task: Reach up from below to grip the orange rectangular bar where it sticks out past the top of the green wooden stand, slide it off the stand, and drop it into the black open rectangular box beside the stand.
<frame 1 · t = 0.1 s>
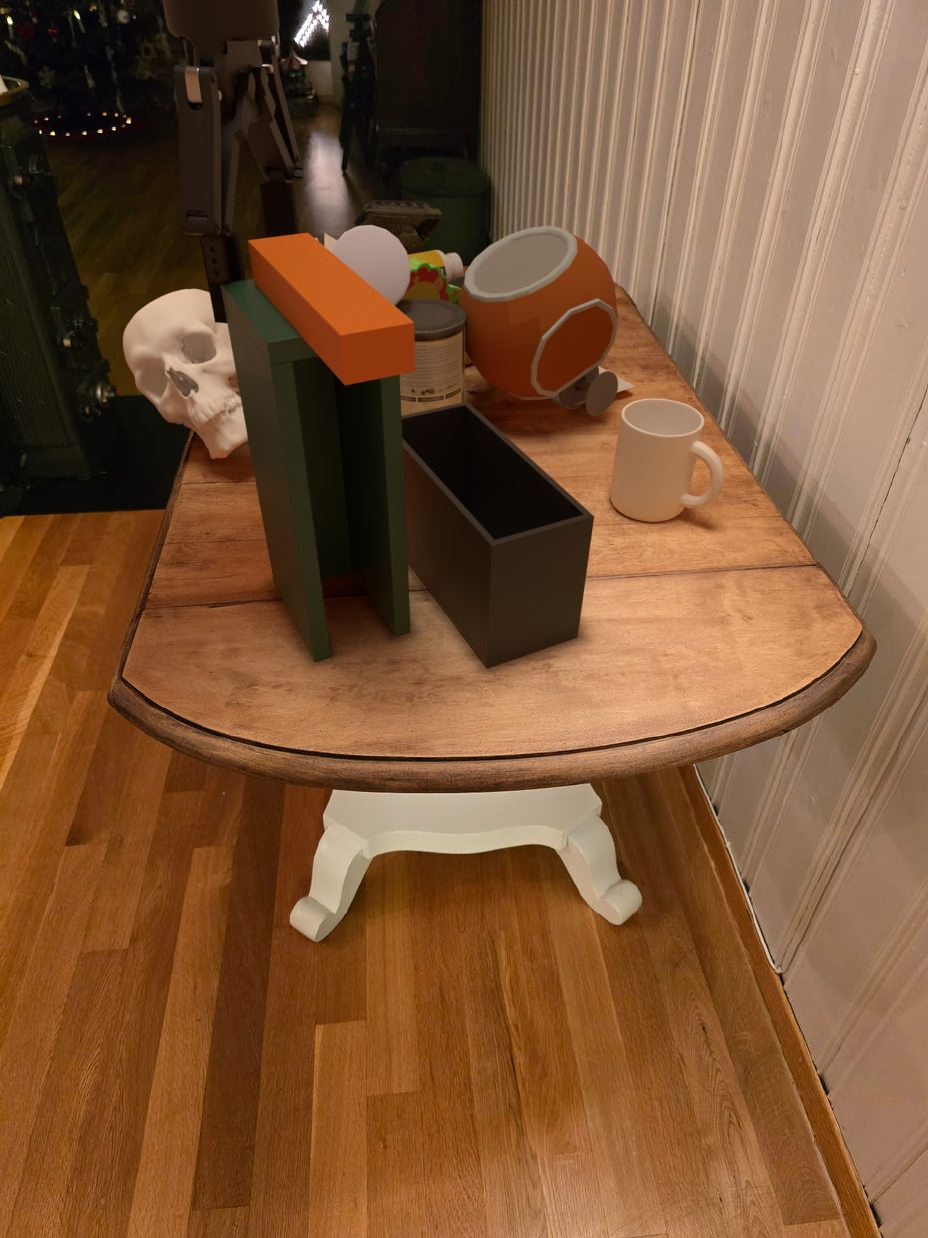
hand: (261, 291, 68), 25 cm above the table, tool pointing down, fingers open, 13 cm apart
white skull: (261, 453, 96), on the table
coffee can: (423, 428, 102), on the table, touching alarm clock, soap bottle
taco: (427, 373, 114), on the table, touching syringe, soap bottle
board: (504, 324, 128), on the table
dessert: (570, 388, 111), on the table, touching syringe
black open rectangular box: (475, 581, 79), on the table
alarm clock: (576, 351, 95), point 11 cm above the table, touching coffee can, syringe
pill bottle: (393, 279, 134), point 3 cm above the table
orange rectangular bar: (326, 322, 55), point 28 cm above the table, touching stand
toy tank: (362, 227, 134), point 10 cm above the table, touching white folded paper piece
white folded paper piece: (325, 334, 124), on the table, touching toy tank
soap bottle: (370, 269, 90), point 19 cm above the table, touching coffee can, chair, taco
mug: (661, 510, 89), on the table
stand: (340, 607, 76), on the table
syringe: (603, 394, 101), point 4 cm above the table, touching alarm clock, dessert, taco
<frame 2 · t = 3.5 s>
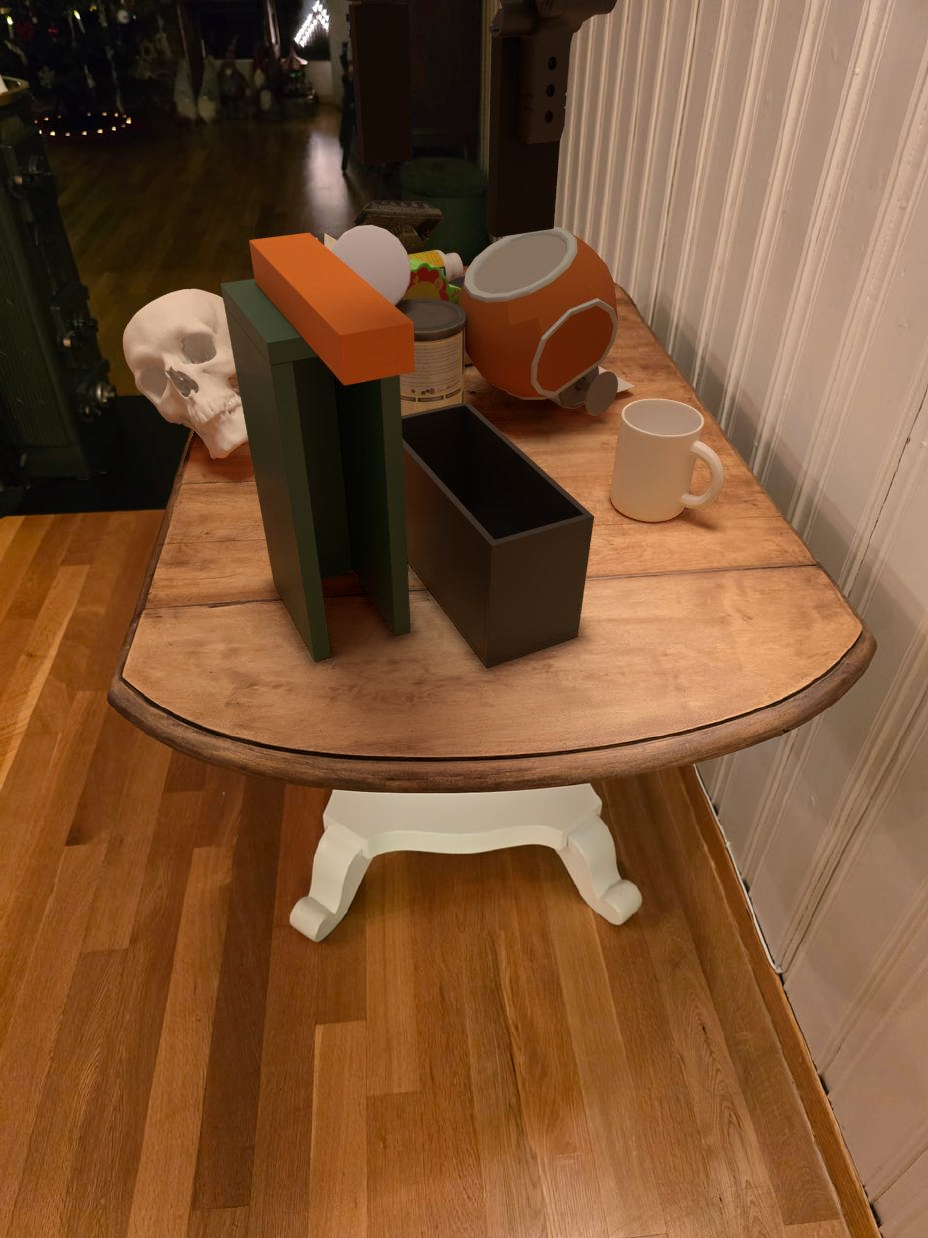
hand: (445, 192, 38), 39 cm above the table, tool pointing down, fingers open, 13 cm apart
nothing on the table moved.
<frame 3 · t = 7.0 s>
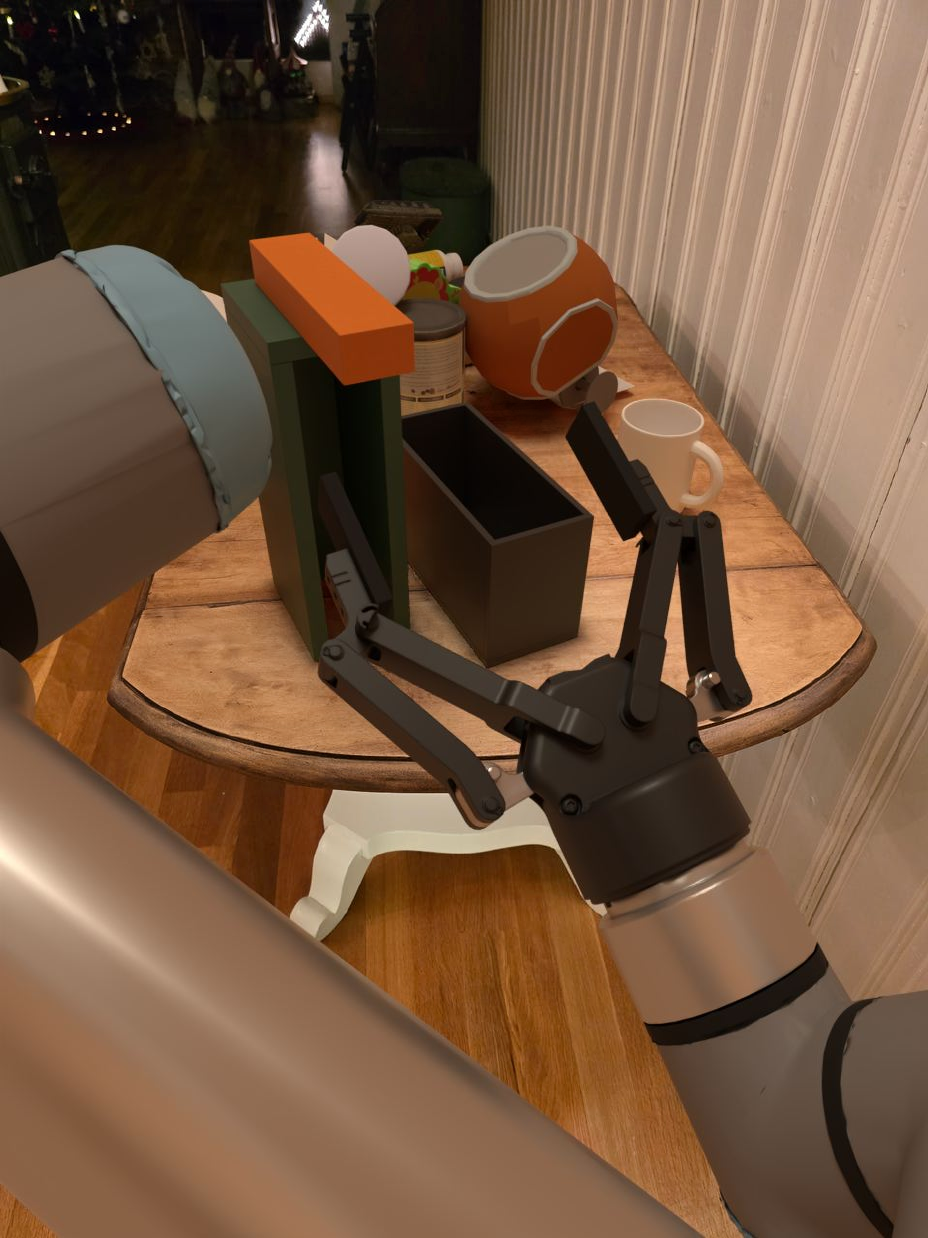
hand: (459, 451, 39), 29 cm above the table, tool pointing upward, fingers open, 13 cm apart
nothing on the table moved.
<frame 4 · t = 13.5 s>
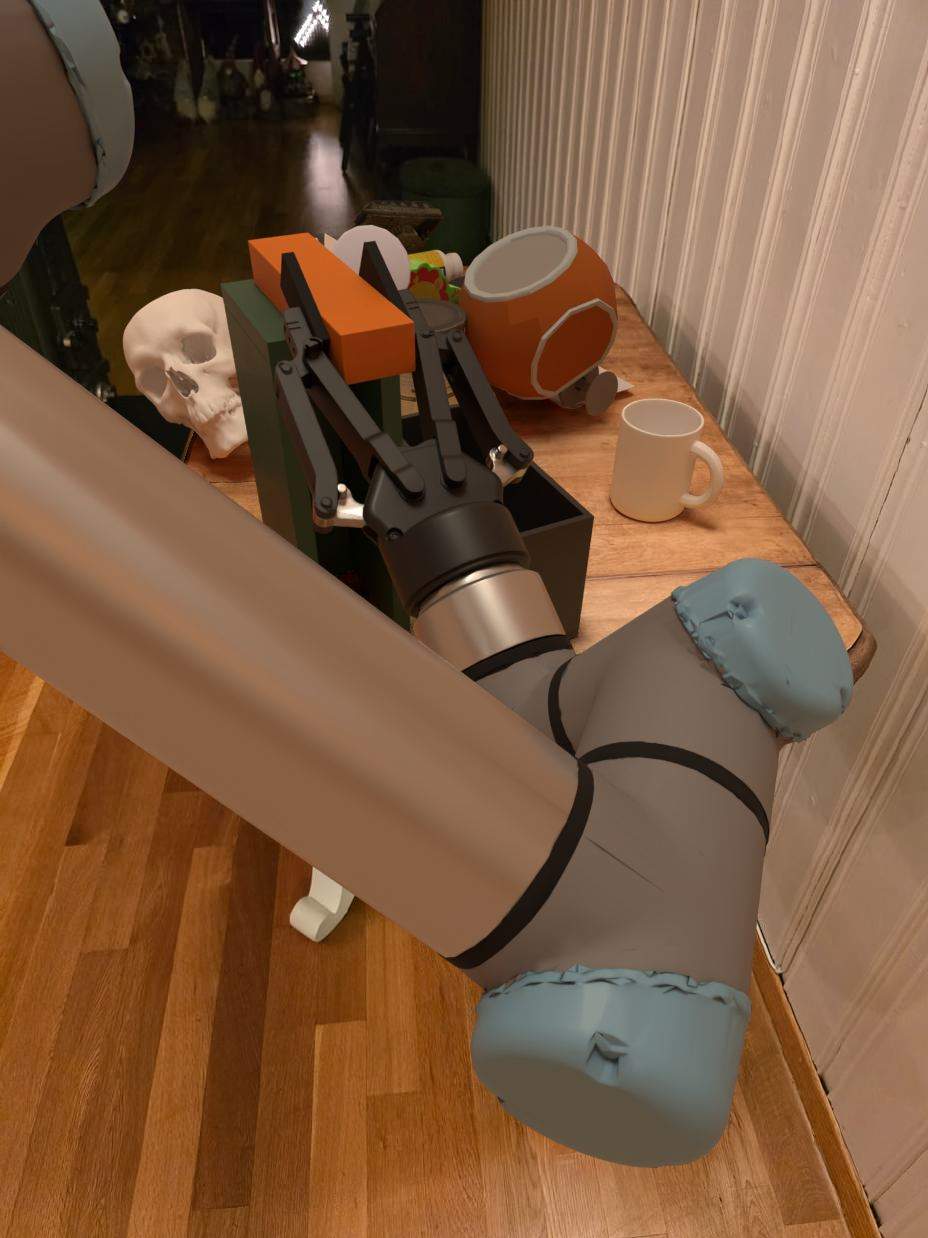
hand: (327, 264, 51), 32 cm above the table, tool pointing upward, fingers closed on orange rectangular bar, 4 cm apart
orange rectangular bar: (326, 322, 55), point 28 cm above the table, touching gripper, stand
everything else where it was.
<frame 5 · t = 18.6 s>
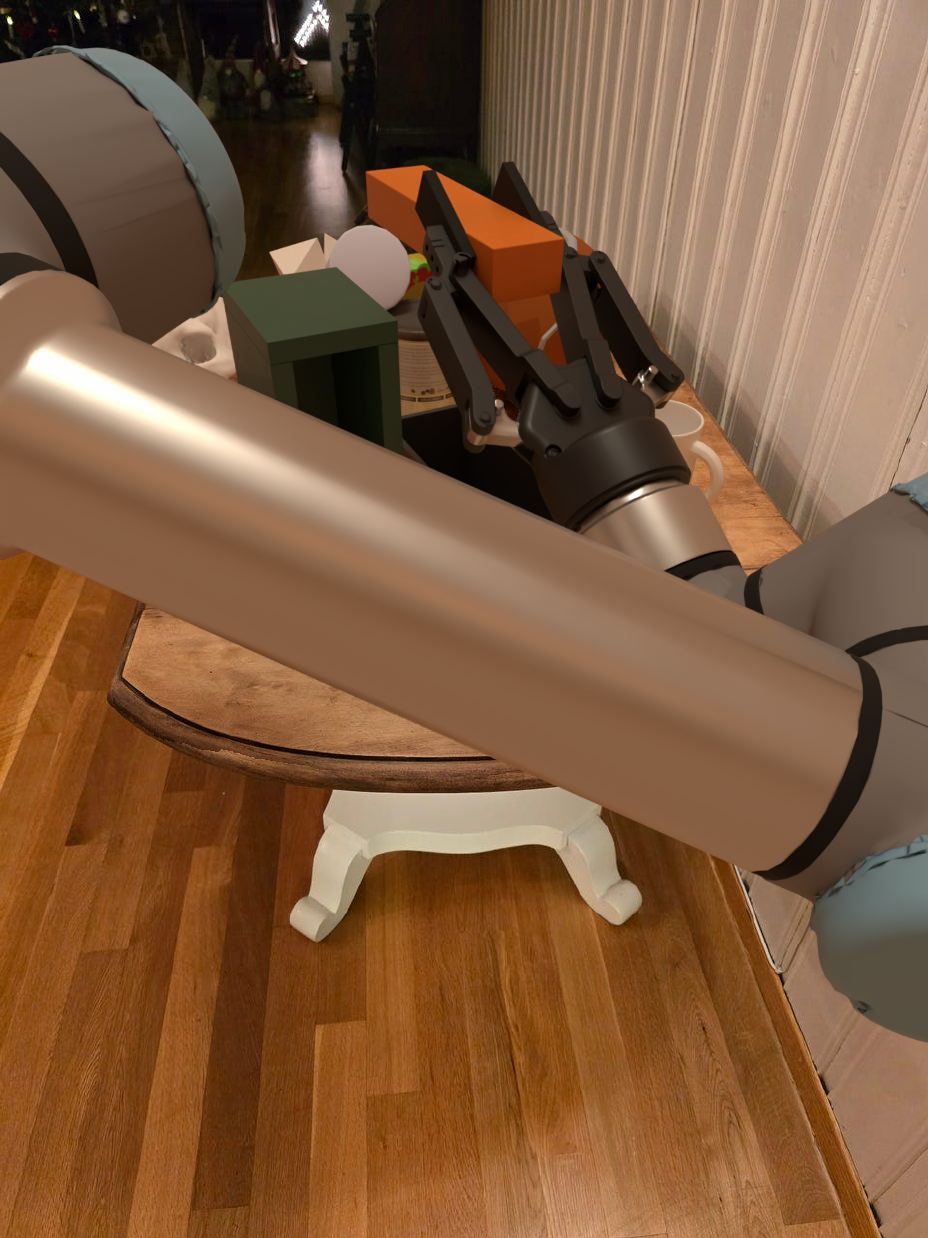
hand: (464, 185, 50), 36 cm above the table, tool pointing upward, fingers closed on orange rectangular bar, 4 cm apart
orange rectangular bar: (454, 251, 53), point 32 cm above the table, touching gripper
everything else where it was.
when the fingers open (22 cm above the table, at t = 23.8 s): orange rectangular bar drops 17 cm, resting on black open rectangular box.
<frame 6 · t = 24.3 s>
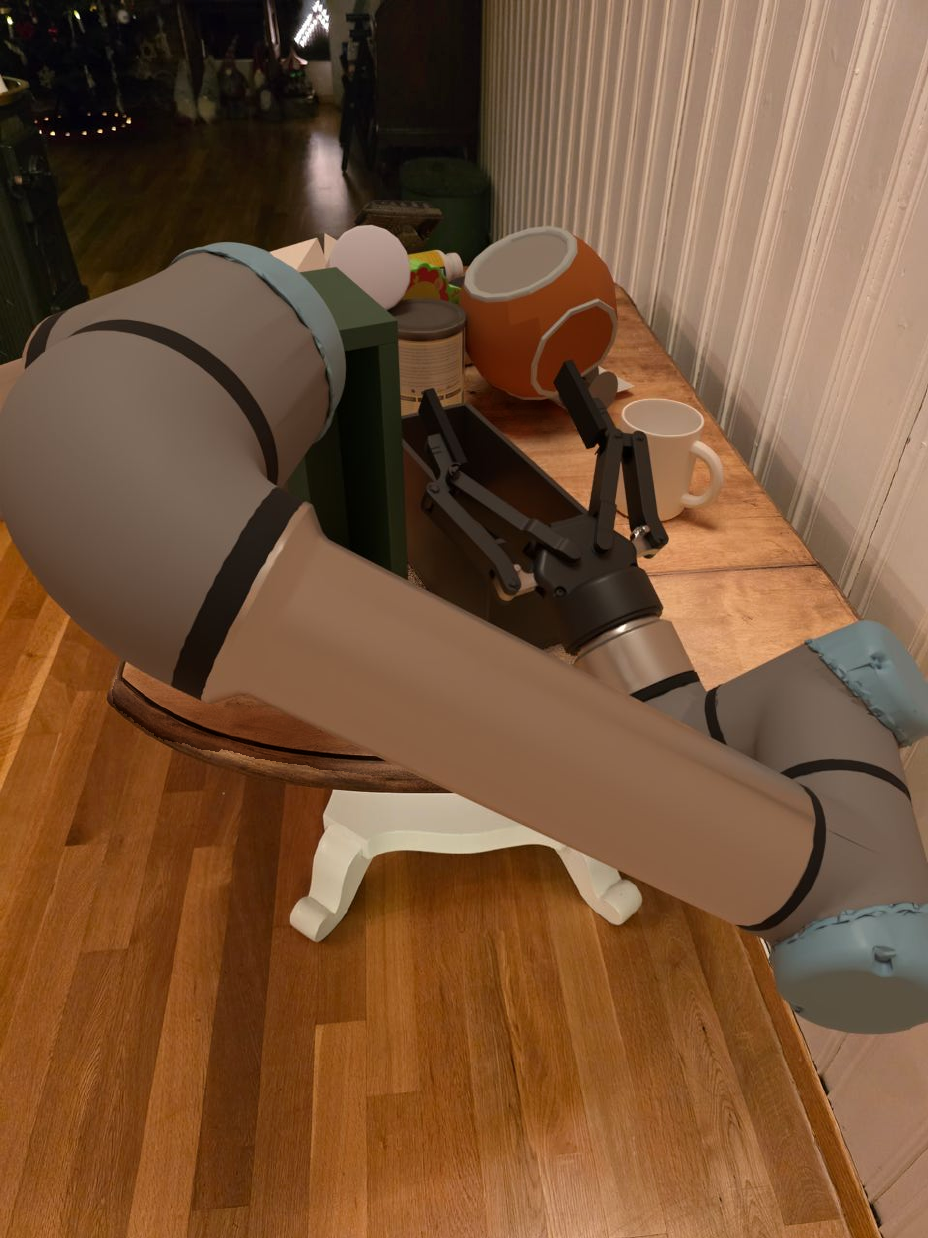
hand: (496, 384, 63), 21 cm above the table, tool pointing upward, fingers open, 11 cm apart
orange rectangular bar: (477, 576, 78), point 1 cm above the table, touching black open rectangular box
everything else where it was.
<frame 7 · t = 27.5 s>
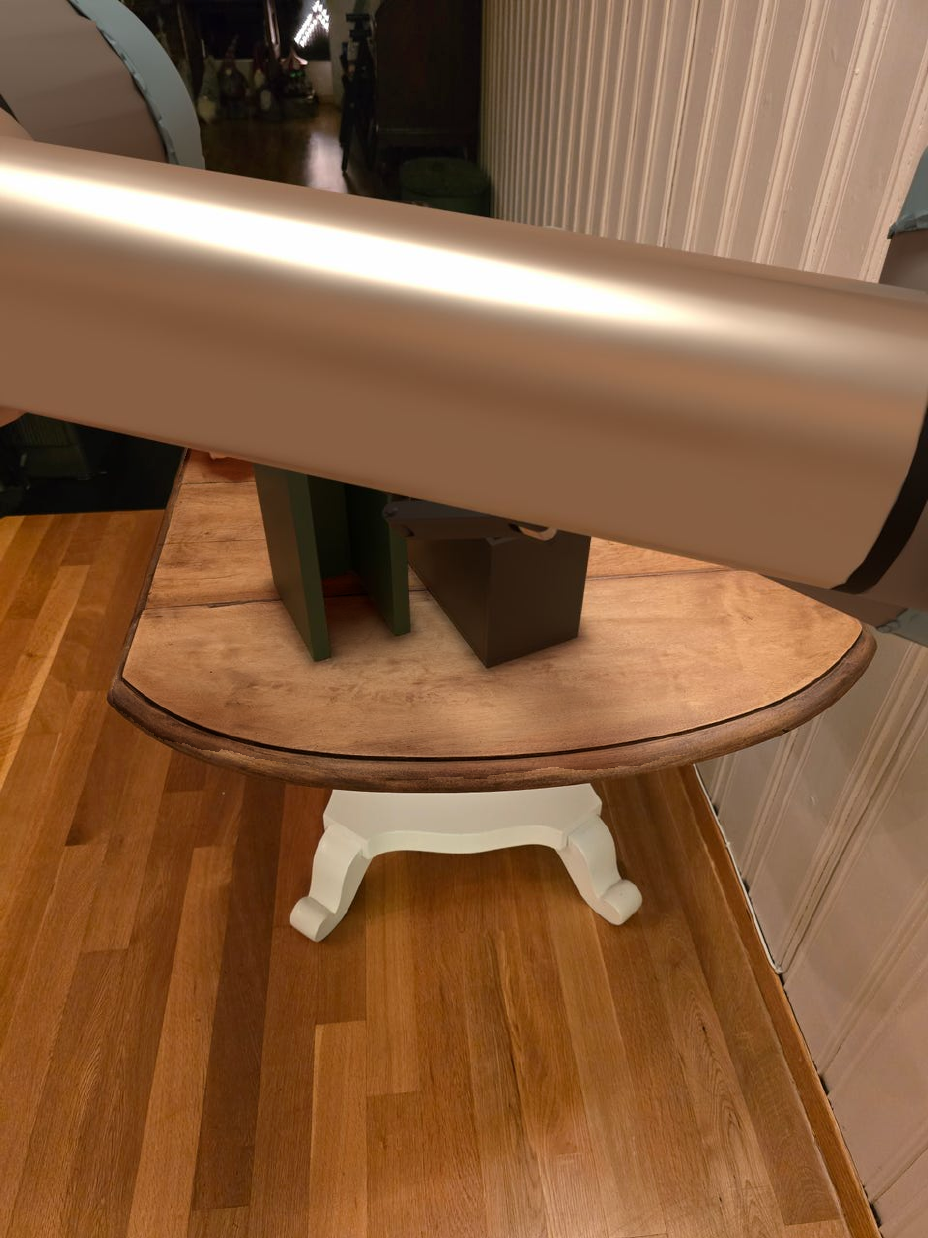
hand: (398, 352, 52), 28 cm above the table, tool horizontal, fingers open, 13 cm apart
nothing on the table moved.
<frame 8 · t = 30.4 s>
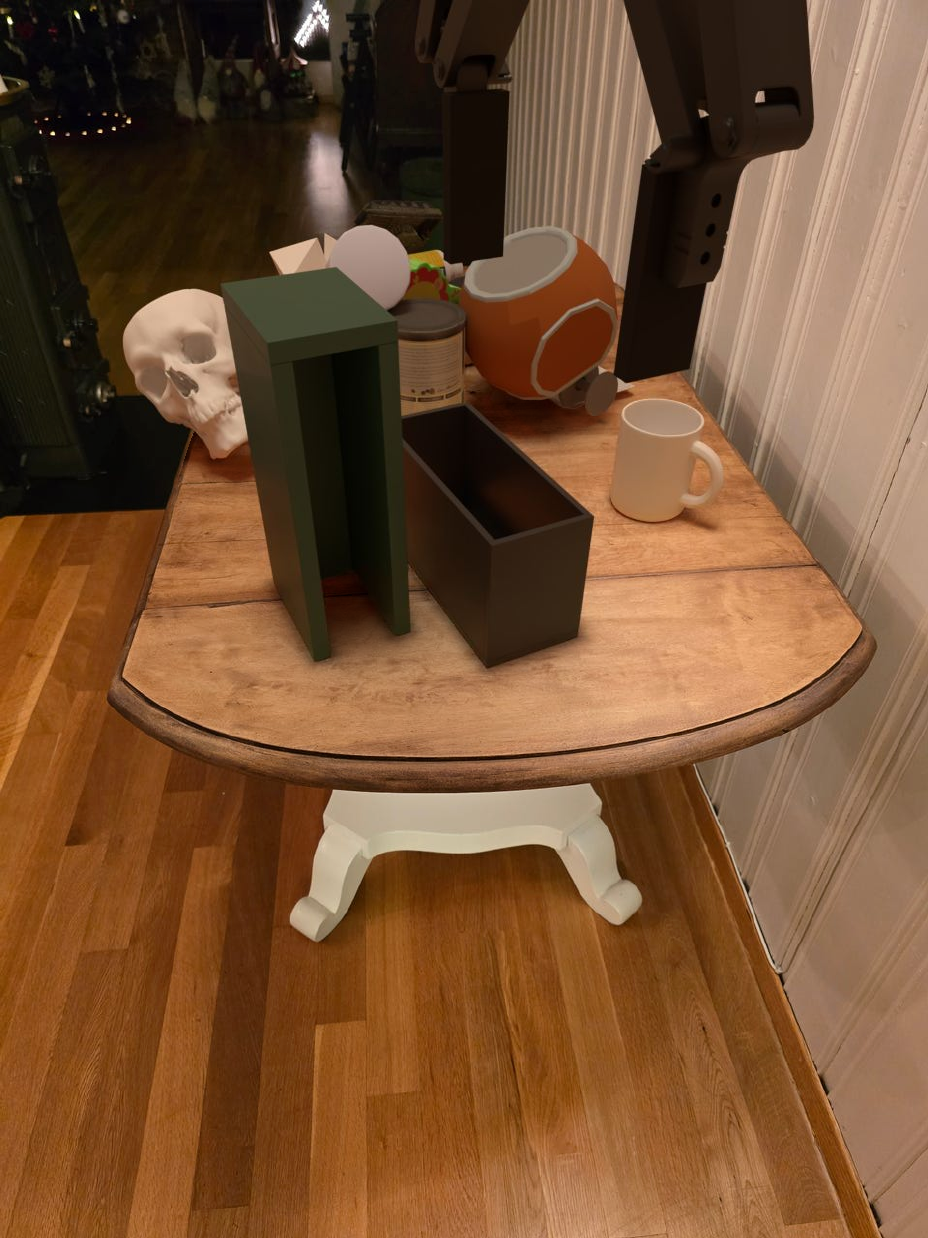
hand: (550, 308, 33), 37 cm above the table, tool pointing down, fingers open, 13 cm apart
nothing on the table moved.
at the end: orange rectangular bar inside the target area in the black open rectangular box (0.3 cm from its centre), point 0.8 cm above the black open rectangular box's base; the gripper is holding nothing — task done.
